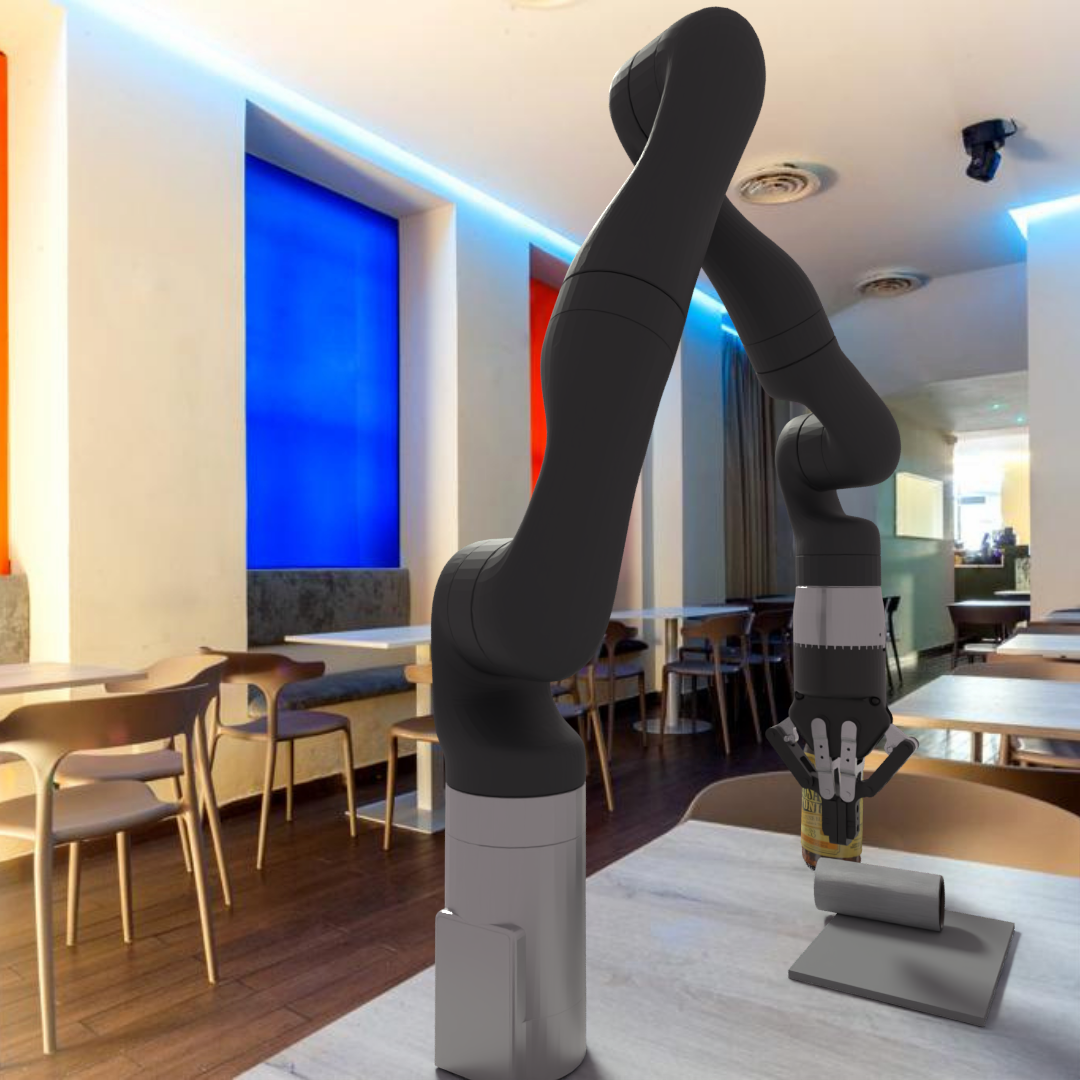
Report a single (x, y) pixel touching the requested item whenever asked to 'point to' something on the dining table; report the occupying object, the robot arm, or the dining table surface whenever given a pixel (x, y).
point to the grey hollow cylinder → (880, 893)
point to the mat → (912, 963)
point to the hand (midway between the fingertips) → (841, 842)
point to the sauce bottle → (812, 832)
